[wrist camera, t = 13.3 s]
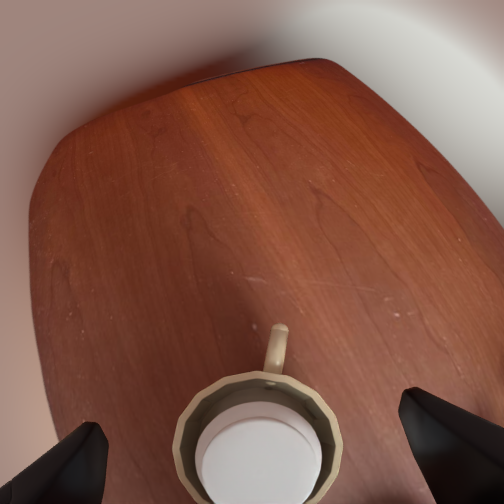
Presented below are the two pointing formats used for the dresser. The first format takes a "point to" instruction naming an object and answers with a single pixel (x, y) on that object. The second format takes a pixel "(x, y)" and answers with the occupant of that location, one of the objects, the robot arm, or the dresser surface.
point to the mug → (251, 390)
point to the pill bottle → (258, 456)
